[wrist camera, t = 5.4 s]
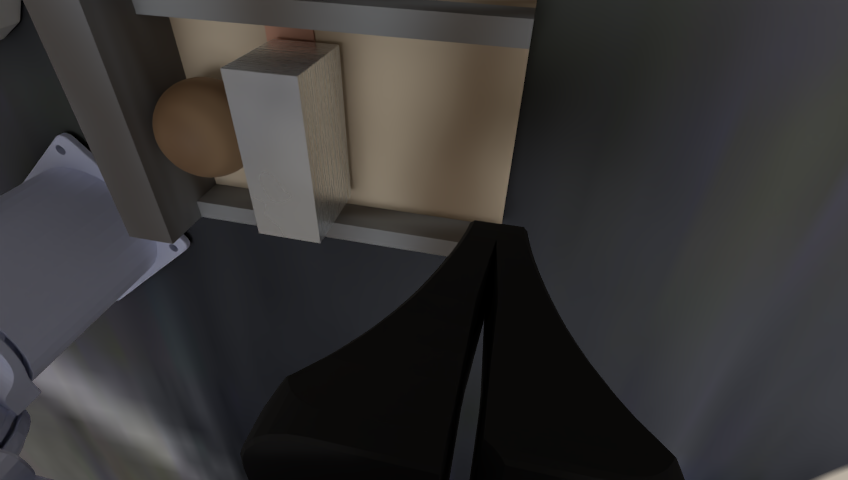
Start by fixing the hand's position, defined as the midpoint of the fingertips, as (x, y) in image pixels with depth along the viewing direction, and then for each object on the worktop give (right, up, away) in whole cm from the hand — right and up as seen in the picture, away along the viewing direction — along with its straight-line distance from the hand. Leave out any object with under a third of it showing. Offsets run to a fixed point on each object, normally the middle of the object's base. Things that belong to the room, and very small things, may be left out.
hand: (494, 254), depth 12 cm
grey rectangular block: (-6, +5, +6) cm, 10 cm away
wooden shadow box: (-6, +6, +7) cm, 11 cm away
